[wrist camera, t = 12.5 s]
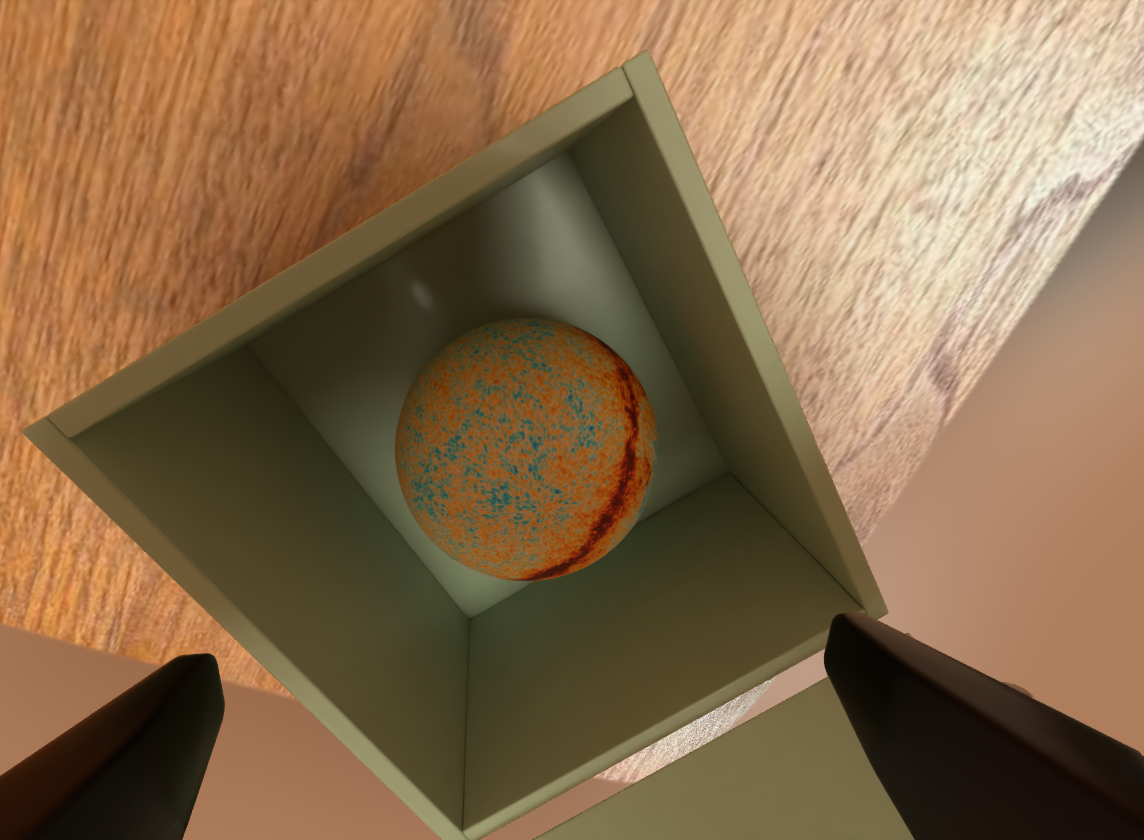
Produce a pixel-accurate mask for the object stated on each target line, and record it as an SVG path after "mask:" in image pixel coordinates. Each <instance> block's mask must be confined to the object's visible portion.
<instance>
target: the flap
mask: <svg viewBox="0 0 1144 840" xmlns="http://www.w3.org/2000/svg"><path fill="white" fill-rule="evenodd" d="M906 635H908V636H910V637H912V636H911V635H910V634H909V633H906ZM912 638H913V637H912ZM533 840H914V838H913V836H912V835H911V833H910V831H909V830H908V828H907V826H906V825H905V823H904V821H903V819H902V818H901V816H900V814H899V813H898V811H897V809H896V808H895V806H894V804H893V803H892V801H891V799H890V798H889V796H888V794H887V792H886V791H885V789H884V787H883V786H882V784H881V782H880V780H879V779H878V777H877V775H876V773H875V771H874V770H873V768H872V766H871V764H870V762H869V760H868V758H867V756H866V754H865V752H864V750H863V748H862V746H861V744H860V742H859V740H858V738H857V736H856V733H855V731H854V729H853V727H852V725H851V723H850V721H849V719H848V717H847V715H846V713H845V710H844V708H843V706H842V704H841V702H840V700H839V698H838V696H837V694H836V692H835V690H834V687H833V685H832V683H831V681H830V679H829V677H827V678H824V679H823V680H821V681H819V682H817V683H815V684H814V685H812V686H810V687H808V688H806V689H805V690H803V691H801V692H799V693H797V694H796V695H794V696H792V697H790V698H788V699H786V700H785V701H783V702H781V703H779V704H778V705H776V706H774V707H772V708H770V709H768V710H766V711H765V712H763V713H761V714H759V715H758V716H756V717H754V718H752V719H750V720H748V721H746V722H745V723H743V724H741V725H739V726H737V727H736V728H734V729H732V730H730V731H728V732H727V733H725V734H723V735H721V736H719V737H717V738H716V739H714V740H712V741H710V742H708V743H707V744H705V745H703V746H701V747H699V748H698V749H696V750H694V751H692V752H690V753H688V754H687V755H685V756H683V757H681V758H679V759H678V760H676V761H674V762H672V763H670V764H669V765H667V766H665V767H663V768H661V769H659V770H658V771H656V772H654V773H652V774H650V775H649V776H647V777H645V778H643V779H641V780H640V781H638V782H636V783H634V784H632V785H631V786H629V787H627V788H625V789H624V790H621V791H620V792H618V793H616V794H614V795H612V796H610V797H609V798H607V799H605V800H603V801H601V802H600V803H598V804H596V805H594V806H592V807H591V808H589V809H587V810H585V811H583V812H581V813H580V814H578V815H576V816H574V817H572V818H571V819H569V820H567V821H565V822H563V823H562V824H560V825H558V826H556V827H554V828H553V829H551V830H549V831H547V832H545V833H544V834H542V835H540V836H538V837H536V838H534V839H533Z"/></svg>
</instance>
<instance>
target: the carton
mask: <svg viewBox="0 0 1144 840" xmlns="http://www.w3.org/2000/svg"><path fill="white" fill-rule="evenodd" d="M513 318H542V319H549V320H554V321H559V322H562V323H566V324H569V325H572V326H575V327H577V328H580V329H582V330H584V331H586V332H588V333H590V334H592V335H593V336H595V337H597V338H598V339H600V340H601V341H603V342H604V343H606V344H607V345H608V346H609V347H611V348H612V349H613V350H614V351H615V352H616V353H618V354H619V355H620V356H621V357H622V358H623V359H624V361H625V362H626V363H627V364H628V365H629V366H630V368H631V369H632V370H633V372H634V373H635V374H636V376H637V377H638V379H639V381H640V382H641V384H642V386H643V388H644V390H645V391H646V394H647V396H648V398H649V401H650V403H651V406H652V409H653V412H654V416H655V420H656V425H657V431H658V442H659V456H658V467H657V473H656V478H655V482H654V486H653V489H652V492H651V495H650V497H649V500H648V502H647V504H646V506H645V508H644V510H643V512H642V514H641V516H640V517H639V519H638V521H637V522H636V524H635V525H634V526H633V528H632V529H631V530H630V532H629V533H628V534H627V535H626V536H625V537H624V539H623V540H622V541H621V542H620V543H619V544H618V545H617V546H616V547H614V548H613V549H612V550H611V551H610V552H608V553H607V554H606V555H604V556H603V557H602V558H600V559H599V560H597V561H596V562H594V563H592V564H590V565H589V566H587V567H585V568H583V569H580V570H578V571H576V572H573V573H570V574H567V575H564V576H561V577H557V578H552V579H547V580H538V581H514V580H506V579H501V578H496V577H492V576H488V575H485V574H482V573H480V572H477V571H475V570H472V569H470V568H468V567H466V566H464V565H462V564H461V563H459V562H457V561H456V560H454V559H453V558H450V556H448V555H447V554H446V553H444V552H443V551H442V550H441V549H440V548H438V547H437V546H436V545H435V544H434V543H433V542H432V541H431V540H430V539H429V538H428V536H427V535H426V534H425V533H424V532H423V530H422V529H421V528H420V526H419V525H418V524H417V522H416V521H415V519H414V517H413V516H412V514H411V512H410V510H409V508H408V506H407V504H406V502H405V499H404V497H403V494H402V491H401V488H400V484H399V480H398V476H397V470H396V462H395V437H396V430H397V424H398V419H399V415H400V412H401V409H402V406H403V403H404V401H405V398H406V396H407V394H408V392H409V390H410V388H411V386H412V384H413V382H414V381H415V379H416V378H417V376H418V375H419V373H420V372H421V370H422V369H423V368H424V367H425V365H426V364H427V363H428V362H429V361H430V360H431V359H432V358H433V357H434V356H435V355H436V354H437V353H438V352H439V351H440V350H441V349H442V348H444V347H445V346H446V345H447V344H449V343H450V342H452V341H453V340H455V339H456V338H458V337H459V336H461V335H463V334H465V333H466V332H468V331H470V330H473V329H475V328H477V327H480V326H482V325H485V324H488V323H492V322H496V321H500V320H506V319H513ZM23 434H24V435H25V436H26V437H27V438H28V439H29V440H30V441H31V442H32V443H33V444H35V445H36V446H37V447H38V448H39V449H40V450H41V451H42V452H43V453H44V454H45V455H46V456H47V457H48V458H49V459H50V460H51V461H52V462H53V463H54V464H55V465H56V466H57V467H58V468H59V469H60V470H61V471H62V472H63V473H64V474H65V475H66V476H68V477H69V478H70V479H71V480H72V481H73V482H74V483H75V484H76V485H77V486H78V487H79V488H80V489H81V490H82V491H83V492H84V493H85V494H86V495H87V496H88V497H89V498H90V499H91V500H92V501H93V502H94V503H95V504H96V505H97V506H98V507H99V508H101V509H102V510H103V511H104V512H105V513H106V514H107V515H108V516H109V517H110V518H111V519H112V520H113V521H114V522H115V523H116V524H117V525H118V526H119V527H120V528H121V529H122V530H123V531H124V532H125V533H126V534H127V535H128V536H129V537H130V538H131V539H132V540H134V541H135V542H136V543H137V544H138V545H139V546H140V547H141V548H142V549H143V550H144V551H145V552H146V553H147V554H148V555H149V556H150V557H151V558H152V559H153V560H154V561H155V562H156V563H157V564H158V565H159V566H160V567H161V568H162V569H163V570H164V571H165V572H167V573H168V574H169V575H170V576H171V577H172V578H173V579H174V580H175V581H176V582H177V583H178V584H179V585H180V586H181V587H182V588H183V589H184V590H185V591H186V592H187V593H188V594H189V595H190V596H191V597H192V598H193V599H194V600H195V601H196V602H197V603H198V604H200V605H201V606H202V607H203V608H204V609H205V610H206V611H207V612H208V613H209V614H210V615H211V616H212V617H213V618H214V619H215V620H216V621H217V622H218V623H219V624H220V625H221V626H222V627H223V628H224V629H225V630H226V631H227V632H228V633H229V634H230V635H231V636H233V637H234V638H235V639H236V640H237V641H238V642H239V643H240V644H241V645H242V646H243V647H244V648H245V649H246V650H247V651H248V652H249V653H250V654H251V655H252V656H253V657H254V658H255V659H256V660H257V661H258V662H259V663H260V664H261V665H262V666H263V667H264V668H266V669H267V670H268V671H269V672H270V673H271V674H272V675H273V676H274V677H275V678H276V679H277V680H278V681H279V682H280V683H281V684H282V685H283V686H284V687H285V688H286V689H287V690H288V691H289V692H290V693H291V694H292V695H293V696H294V697H295V698H296V699H297V700H299V701H300V702H301V703H302V704H303V705H304V706H305V707H306V708H307V709H308V710H309V711H310V712H311V713H312V714H313V715H314V716H315V717H316V718H317V719H318V720H319V721H320V722H321V723H322V724H323V725H324V726H325V727H326V728H327V729H329V731H330V732H332V733H333V734H334V735H335V736H336V737H337V738H338V739H339V740H340V741H341V742H342V743H343V744H344V745H345V746H346V747H347V748H348V749H349V750H350V751H351V752H352V753H353V754H354V755H355V756H356V757H358V759H359V760H360V761H361V762H362V763H363V764H365V765H366V766H367V767H368V768H369V769H370V770H371V771H372V772H373V773H374V774H375V775H376V776H377V777H378V778H379V779H380V780H381V781H382V782H383V783H384V784H385V785H386V786H387V787H388V788H389V789H390V790H391V791H392V792H393V793H394V794H396V796H398V797H399V798H400V799H401V800H402V801H403V802H404V803H405V804H406V805H407V806H408V807H409V808H410V809H411V810H412V811H413V812H414V813H415V814H416V815H417V816H418V817H419V818H420V819H421V820H422V821H423V822H424V823H425V824H426V825H427V826H429V827H430V828H431V829H432V830H433V831H434V832H435V833H436V834H437V835H438V836H439V837H440V838H441V839H442V840H480V839H482V838H483V837H485V836H487V835H489V834H491V833H492V832H494V831H496V830H498V829H500V828H501V827H503V826H505V825H507V824H509V823H511V822H512V821H514V820H516V819H518V818H520V817H521V816H523V815H525V814H527V813H529V812H530V811H532V810H534V809H536V808H538V807H539V806H541V805H543V804H545V803H547V802H548V801H550V800H552V799H554V798H556V797H558V796H559V795H561V794H563V793H564V792H567V791H568V790H570V789H572V788H574V787H576V786H577V785H579V784H581V783H583V782H585V781H586V780H588V779H590V778H592V777H594V776H595V775H597V774H599V773H601V772H603V771H604V770H606V769H608V768H610V767H612V766H613V765H615V764H617V763H619V762H621V761H623V760H624V759H626V758H628V757H630V756H632V755H633V754H635V753H637V752H639V751H641V750H642V749H644V748H646V747H648V746H650V745H651V744H653V743H655V742H657V741H659V740H660V739H662V738H664V737H666V736H668V735H669V734H671V733H673V732H675V731H677V730H678V729H680V728H682V727H684V726H686V725H688V724H689V723H691V722H693V721H695V720H697V719H698V718H700V717H702V716H704V715H706V714H707V713H709V712H711V711H713V710H715V709H716V708H718V707H720V706H722V705H724V704H725V703H727V702H729V701H731V700H733V699H734V698H736V697H738V696H740V695H742V694H743V693H745V692H747V691H749V690H751V689H753V688H754V687H756V686H758V685H760V684H762V683H763V682H765V681H767V680H769V679H771V678H772V677H774V676H776V675H778V674H780V673H781V672H783V671H785V670H787V669H789V668H790V667H792V666H794V665H796V664H798V663H799V662H801V661H803V660H805V659H806V658H808V657H810V656H812V655H814V654H816V653H818V652H819V651H821V650H823V649H825V648H826V644H827V639H828V635H829V630H830V626H831V622H832V619H833V618H834V616H835V615H837V614H840V613H855V612H859V613H863V614H866V615H868V616H870V617H872V618H874V619H876V620H877V619H879V618H881V617H882V616H884V615H886V614H887V613H888V609H887V607H886V604H885V602H884V600H883V597H882V595H881V593H880V590H879V588H878V586H877V584H876V581H875V579H874V576H873V574H872V572H871V569H870V567H869V565H868V562H867V560H866V558H865V555H864V553H863V551H862V548H861V546H860V544H859V541H858V539H857V536H856V534H855V532H854V529H853V527H852V525H851V522H850V520H849V518H848V515H847V513H846V511H845V508H844V506H843V504H842V501H841V499H840V497H839V494H838V492H837V490H836V487H835V485H834V483H833V480H832V478H831V476H830V473H829V471H828V469H827V466H826V464H825V462H824V459H823V457H822V455H821V452H820V450H819V448H818V445H817V443H816V440H815V438H814V436H813V433H812V431H811V429H810V426H809V424H808V422H807V419H806V417H805V415H804V412H803V410H802V408H801V405H800V403H799V401H798V398H797V396H796V394H795V391H794V389H793V387H792V384H791V382H790V380H789V377H788V375H787V373H786V370H785V368H784V366H783V363H782V361H781V359H780V356H779V354H778V352H777V349H776V347H775V344H774V342H773V340H772V337H771V335H770V333H769V330H768V328H767V326H766V323H765V321H764V319H763V316H762V314H761V312H760V309H759V307H758V305H757V302H756V300H755V298H754V295H753V293H752V291H751V288H750V286H749V284H748V281H747V279H746V277H745V274H744V272H743V270H742V267H741V265H740V263H739V260H738V258H737V255H736V253H735V251H734V248H733V246H732V244H731V241H730V239H729V237H728V234H727V232H726V230H725V227H724V225H723V223H722V220H721V218H720V216H719V213H718V211H717V209H716V206H715V204H714V202H713V199H712V197H711V195H710V192H709V190H708V188H707V185H706V183H705V181H704V178H703V176H702V174H701V171H700V169H699V167H698V164H697V162H696V159H695V157H694V155H693V152H692V150H691V148H690V145H689V143H688V141H687V138H686V136H685V134H684V131H683V129H682V127H681V124H680V122H679V120H678V117H677V115H676V113H675V110H674V108H673V106H672V103H671V101H670V99H669V96H668V94H667V92H666V89H665V87H664V85H663V82H662V80H661V78H660V75H659V73H658V71H657V68H656V66H655V63H654V61H653V59H652V56H651V54H650V52H649V51H648V50H644V51H642V52H641V53H639V54H637V55H636V56H634V57H632V58H631V59H629V60H627V61H626V62H624V63H623V64H622V65H621V66H620V67H616V68H614V69H613V70H611V71H609V72H608V73H606V74H605V75H603V76H601V77H600V78H598V79H596V80H595V81H593V82H591V83H590V84H588V85H587V86H585V87H583V88H582V89H580V90H578V91H577V92H575V93H573V94H572V95H570V96H568V97H567V98H565V99H564V100H562V101H560V102H559V103H557V104H555V105H554V106H552V107H550V108H549V109H547V110H546V111H544V112H542V113H541V114H539V115H537V116H536V117H534V118H532V119H531V120H529V121H528V122H526V123H524V124H523V125H521V126H519V127H518V128H516V129H514V130H513V131H511V132H510V133H508V134H506V135H505V136H503V137H501V138H500V139H498V140H496V141H495V142H493V143H492V144H490V145H488V146H487V147H485V148H483V149H482V150H480V151H478V152H477V153H475V154H474V155H472V156H470V157H469V158H467V159H465V160H464V161H462V162H460V163H459V164H457V165H456V166H454V167H452V168H451V169H449V170H447V171H446V172H444V173H442V174H441V175H439V176H438V177H436V178H434V179H433V180H431V181H429V182H428V183H426V184H424V185H423V186H421V187H420V188H418V189H416V190H415V191H413V192H411V193H410V194H408V195H406V196H405V197H403V198H401V199H400V200H398V201H397V202H395V203H393V204H392V205H390V206H388V207H387V208H385V209H383V210H382V211H380V212H379V213H377V214H375V215H374V216H372V217H370V218H369V219H367V220H365V221H364V222H362V223H361V224H359V225H357V226H356V227H354V228H352V229H351V230H349V231H347V232H346V233H344V234H343V235H341V236H339V237H338V238H336V239H334V240H333V241H331V242H329V243H328V244H326V245H325V246H323V247H321V248H320V249H318V250H316V251H315V252H313V253H311V254H310V255H308V256H307V257H305V258H303V259H302V260H300V261H298V262H297V263H295V264H293V265H292V266H290V267H289V268H287V269H285V270H284V271H282V272H280V273H279V274H277V275H275V276H274V277H272V278H271V279H269V280H267V281H266V282H264V283H262V284H261V285H259V286H257V287H256V288H254V289H252V290H251V291H249V292H248V293H246V294H244V295H243V296H241V297H239V298H238V299H236V300H234V301H233V302H231V303H230V304H228V305H226V306H225V307H223V308H221V309H220V310H218V311H216V312H215V313H213V314H212V315H210V316H208V317H207V318H205V319H203V320H202V321H200V322H198V323H197V324H195V325H194V326H192V327H190V328H189V329H187V330H185V331H184V332H182V333H180V334H179V335H177V336H176V337H174V338H172V339H171V340H169V341H167V342H166V343H164V344H162V345H161V346H159V347H158V348H156V349H154V350H153V351H151V352H149V353H148V354H146V355H144V356H143V357H141V358H140V359H138V360H136V361H135V362H133V363H131V364H130V365H128V366H126V367H125V368H123V369H122V370H120V371H118V372H117V373H115V374H113V375H112V376H110V377H108V378H107V379H105V380H104V381H102V382H100V383H99V384H97V385H95V386H94V387H92V388H90V389H89V390H87V391H85V392H84V393H82V394H81V395H79V396H77V397H76V398H74V399H72V400H71V401H69V402H67V403H66V404H64V405H63V406H61V407H59V408H58V409H56V410H54V411H53V412H51V413H49V415H47V416H45V417H43V418H41V419H40V420H38V421H36V422H35V423H33V424H31V425H30V426H28V427H27V428H25V429H24V430H23ZM452 559H453V560H452Z"/></svg>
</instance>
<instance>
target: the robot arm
mask: <svg viewBox="0 0 1144 840" xmlns="http://www.w3.org/2000/svg"><path fill="white" fill-rule="evenodd" d="M824 665H825V669H826V672H827V675H828V677H829V679H830V681H831V683H832V685H833V687H834V690H835V692H836V694H837V696H838V698H839V700H840V702H841V704H842V706H843V708H844V710H845V713H846V715H847V717H848V719H849V721H850V723H851V725H852V727H853V729H854V731H855V733H856V736H857V738H858V740H859V742H860V744H861V746H862V748H863V750H864V752H865V754H866V756H867V758H868V760H869V762H870V764H871V766H872V768H873V770H874V771H875V773H876V775H877V777H878V779H879V780H880V782H881V784H882V786H883V787H884V789H885V791H886V792H887V794H888V796H889V798H890V799H891V801H892V803H893V804H894V806H895V808H896V809H897V811H898V813H899V814H900V816H901V818H902V819H903V821H904V823H905V825H906V826H907V828H908V830H909V831H910V833H911V835H912V836H913V838H914V840H1144V756H1142V755H1141V753H1140V752H1139V751H1137V750H1135V749H1133V748H1131V747H1129V746H1127V745H1125V744H1123V743H1121V742H1119V741H1117V740H1115V739H1113V738H1111V737H1109V736H1107V735H1105V734H1103V733H1101V732H1099V731H1097V730H1095V729H1093V728H1091V727H1089V726H1087V725H1085V724H1083V723H1081V722H1079V721H1077V720H1075V719H1073V718H1071V717H1069V716H1067V715H1065V714H1063V713H1061V712H1059V711H1057V710H1055V709H1053V708H1051V707H1049V706H1047V705H1045V704H1043V703H1041V702H1039V701H1037V700H1035V699H1033V698H1031V697H1029V696H1027V695H1025V694H1023V693H1021V692H1019V691H1017V690H1015V689H1013V688H1011V687H1009V686H1007V685H1005V684H1003V683H1001V682H999V681H997V680H995V679H993V678H991V677H989V676H987V675H985V674H983V673H981V672H979V671H977V670H976V669H973V668H972V667H969V666H967V665H966V664H963V663H962V662H959V661H958V660H956V659H954V658H952V657H950V656H947V655H946V654H943V653H941V652H940V651H938V650H936V649H933V648H932V647H929V646H928V645H926V644H924V643H922V642H920V641H918V640H916V639H914V638H912V637H910V636H908V635H906V634H903V633H902V632H900V631H898V630H896V629H893V628H892V627H889V626H888V625H886V624H884V623H882V622H880V621H878V620H876V619H874V618H872V617H870V616H868V615H866V614H863V613H859V612H855V613H840V614H837V615H835V616H834V618H833V619H832V622H831V626H830V630H829V635H828V639H827V644H826V648H825V653H824ZM224 709H225V702H224V696H223V690H222V685H221V680H220V675H219V669H218V664H217V661H216V659H215V657H214V656H213V655H211V654H208V653H205V654H189V655H181V656H178V657H176V658H174V659H172V660H171V661H169V662H168V663H166V664H165V665H163V666H162V667H160V668H159V669H158V670H156V671H155V672H153V673H152V674H150V675H149V676H148V677H146V678H144V679H143V680H142V681H140V682H138V683H137V684H135V685H134V686H132V687H131V688H129V689H128V690H126V691H125V692H124V693H122V694H121V695H119V696H118V697H116V698H115V699H113V700H112V701H110V702H109V703H107V704H106V705H105V706H103V707H101V708H100V709H98V710H97V711H95V712H94V713H93V714H91V715H90V716H88V717H87V718H85V719H84V720H82V721H81V722H79V723H78V724H76V725H75V726H74V727H72V728H70V729H69V730H67V731H66V732H64V733H63V734H61V735H60V736H59V737H57V738H56V739H54V740H53V741H51V742H50V743H48V744H47V745H45V746H44V747H42V748H41V749H39V750H38V751H37V752H35V753H34V754H32V755H31V756H29V757H28V758H26V759H25V760H23V761H22V762H20V763H19V764H17V765H16V766H14V767H13V768H11V769H10V770H8V771H7V772H5V773H4V774H2V775H1V776H0V840H182V839H183V836H184V833H185V831H186V828H187V825H188V822H189V819H190V816H191V813H192V810H193V807H194V804H195V801H196V798H197V795H198V792H199V789H200V786H201V783H202V780H203V777H204V774H205V771H206V768H207V765H208V762H209V759H210V756H211V753H212V750H213V748H214V744H215V742H216V738H217V736H218V732H219V729H220V727H221V724H222V720H223V716H224Z"/></svg>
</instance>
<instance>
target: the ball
mask: <svg viewBox="0 0 1144 840" xmlns="http://www.w3.org/2000/svg"><path fill="white" fill-rule="evenodd" d="M658 456H659V442H658V431H657V425H656V420H655V416H654V412H653V409H652V406H651V403H650V401H649V398H648V396H647V394H646V391H645V390H644V388H643V386H642V384H641V382H640V381H639V379H638V377H637V376H636V374H635V373H634V372H633V370H632V369H631V368H630V366H629V365H628V364H627V363H626V362H625V361H624V359H623V358H622V357H621V356H620V355H619V354H618V353H616V352H615V351H614V350H613V349H612V348H611V347H609V346H608V345H607V344H606V343H604V342H603V341H601V340H600V339H598V338H597V337H595V336H593V335H592V334H590V333H588V332H586V331H584V330H582V329H580V328H577V327H575V326H572V325H569V324H566V323H562V322H559V321H554V320H549V319H542V318H513V319H506V320H500V321H496V322H492V323H488V324H485V325H482V326H480V327H477V328H475V329H473V330H470V331H468V332H466V333H465V334H463V335H461V336H459V337H458V338H456V339H455V340H453V341H452V342H450V343H449V344H447V345H446V346H445V347H444V348H442V349H441V350H440V351H439V352H438V353H437V354H436V355H435V356H434V357H433V358H432V359H431V360H430V361H429V362H428V363H427V364H426V365H425V367H424V368H423V369H422V370H421V372H420V373H419V375H418V376H417V378H416V379H415V381H414V382H413V384H412V386H411V388H410V390H409V392H408V394H407V396H406V398H405V401H404V403H403V406H402V409H401V412H400V415H399V419H398V424H397V430H396V437H395V462H396V470H397V476H398V480H399V484H400V488H401V491H402V494H403V497H404V499H405V502H406V504H407V506H408V508H409V510H410V512H411V514H412V516H413V517H414V519H415V521H416V522H417V524H418V525H419V526H420V528H421V529H422V530H423V532H424V533H425V534H426V535H427V536H428V538H429V539H430V540H431V541H432V542H433V543H434V544H435V545H436V546H437V547H438V548H440V549H441V550H442V551H443V552H444V553H446V554H447V555H448V556H450V558H453V559H454V560H456V561H457V562H459V563H461V564H462V565H464V566H466V567H468V568H470V569H472V570H475V571H477V572H480V573H482V574H485V575H488V576H492V577H496V578H501V579H506V580H514V581H538V580H547V579H552V578H557V577H561V576H564V575H567V574H570V573H573V572H576V571H578V570H580V569H583V568H585V567H587V566H589V565H590V564H592V563H594V562H596V561H597V560H599V559H600V558H602V557H603V556H604V555H606V554H607V553H608V552H610V551H611V550H612V549H613V548H614V547H616V546H617V545H618V544H619V543H620V542H621V541H622V540H623V539H624V537H625V536H626V535H627V534H628V533H629V532H630V530H631V529H632V528H633V526H634V525H635V524H636V522H637V521H638V519H639V517H640V516H641V514H642V512H643V510H644V508H645V506H646V504H647V502H648V500H649V497H650V495H651V492H652V489H653V486H654V482H655V478H656V473H657V467H658ZM453 559H452V560H453Z"/></svg>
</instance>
